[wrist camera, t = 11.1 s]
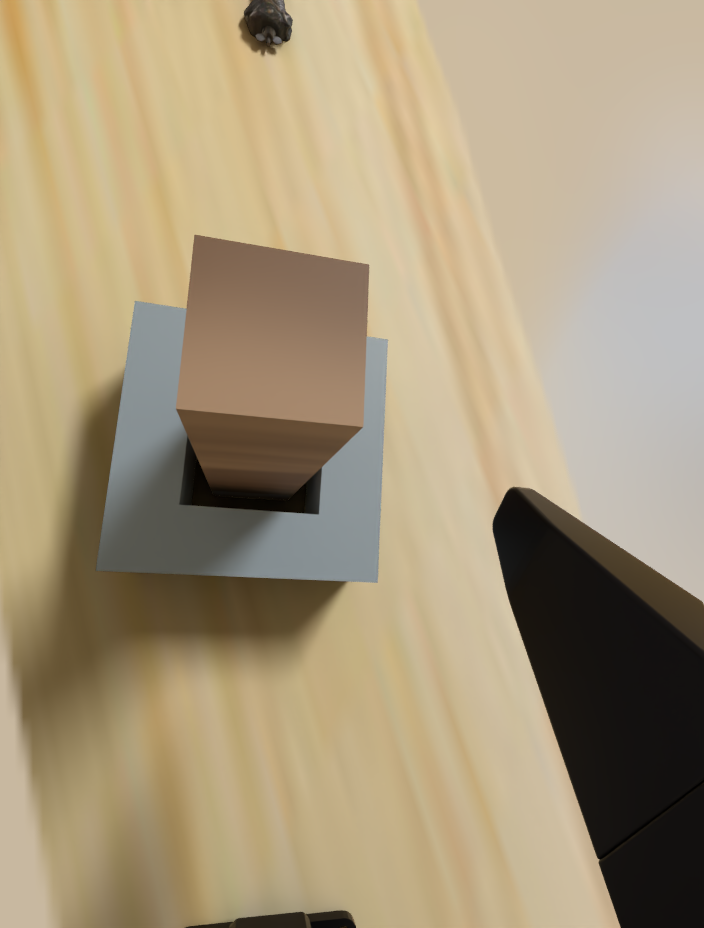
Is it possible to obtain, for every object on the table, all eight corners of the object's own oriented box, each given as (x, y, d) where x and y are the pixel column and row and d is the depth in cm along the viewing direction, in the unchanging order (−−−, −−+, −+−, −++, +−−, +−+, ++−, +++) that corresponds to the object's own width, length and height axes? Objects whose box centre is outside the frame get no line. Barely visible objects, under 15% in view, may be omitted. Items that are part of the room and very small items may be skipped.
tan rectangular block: (287, 500, 21) (363, 426, 8) (213, 496, 20) (175, 408, 8) (291, 431, 21) (368, 264, 9) (220, 425, 21) (194, 234, 8)
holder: (351, 576, 21) (377, 582, 17) (124, 566, 19) (95, 570, 15) (362, 375, 22) (387, 339, 19) (154, 347, 20) (135, 301, 17)
